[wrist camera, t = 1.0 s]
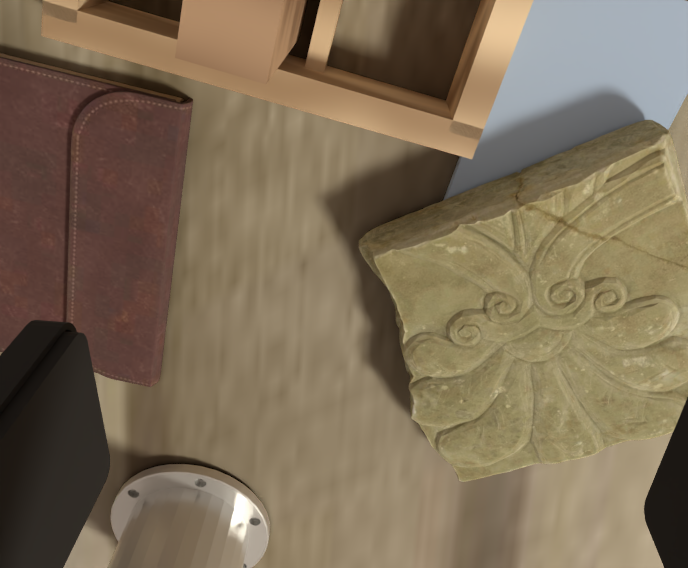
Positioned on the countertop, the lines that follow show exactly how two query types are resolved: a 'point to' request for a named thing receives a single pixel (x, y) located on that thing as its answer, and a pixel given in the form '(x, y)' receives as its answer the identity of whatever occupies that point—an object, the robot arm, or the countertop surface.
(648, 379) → the decorative tile
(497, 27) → the oak rack
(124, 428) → the countertop surface
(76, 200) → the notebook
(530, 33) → the slate-blue mat
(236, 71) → the brown wooden block
